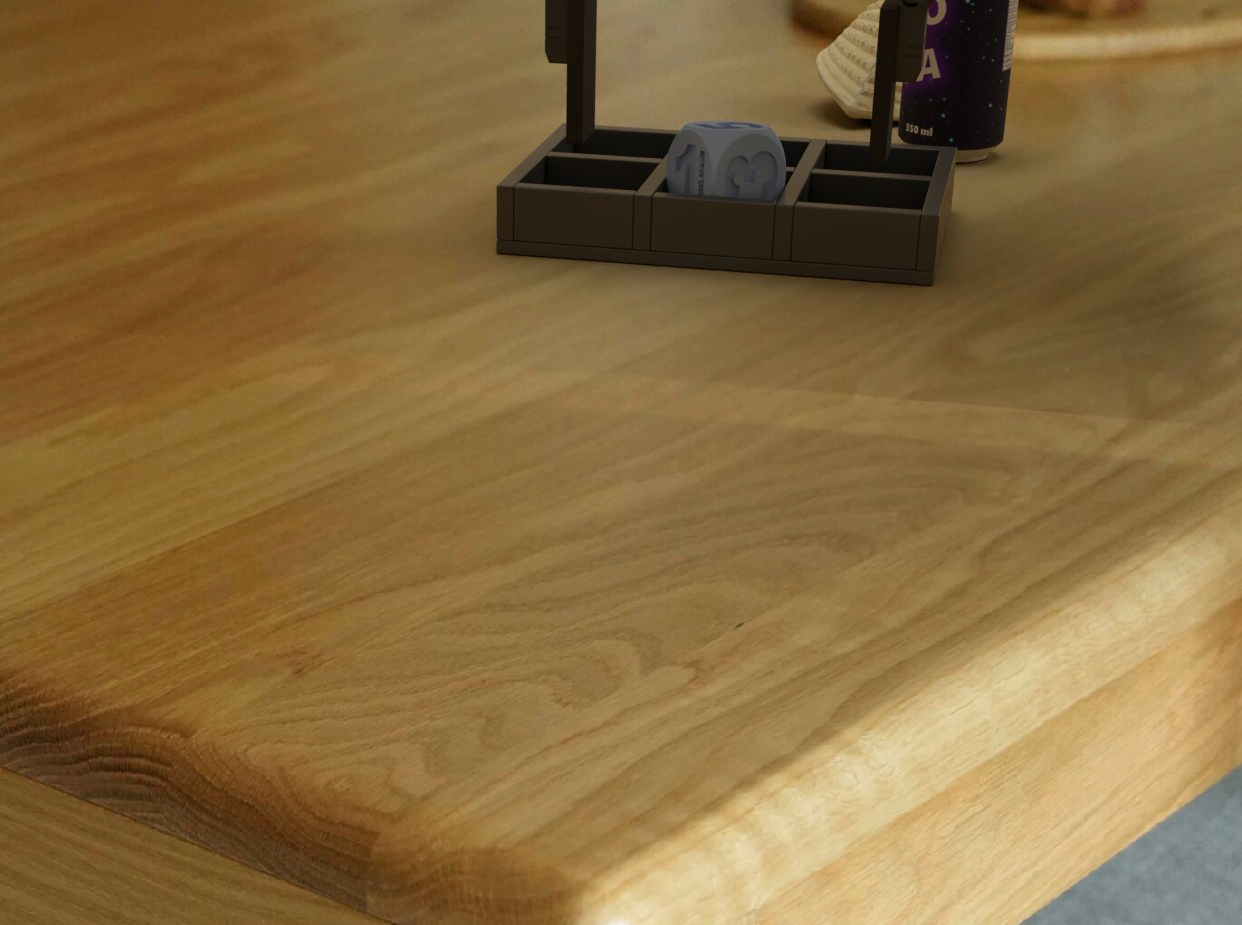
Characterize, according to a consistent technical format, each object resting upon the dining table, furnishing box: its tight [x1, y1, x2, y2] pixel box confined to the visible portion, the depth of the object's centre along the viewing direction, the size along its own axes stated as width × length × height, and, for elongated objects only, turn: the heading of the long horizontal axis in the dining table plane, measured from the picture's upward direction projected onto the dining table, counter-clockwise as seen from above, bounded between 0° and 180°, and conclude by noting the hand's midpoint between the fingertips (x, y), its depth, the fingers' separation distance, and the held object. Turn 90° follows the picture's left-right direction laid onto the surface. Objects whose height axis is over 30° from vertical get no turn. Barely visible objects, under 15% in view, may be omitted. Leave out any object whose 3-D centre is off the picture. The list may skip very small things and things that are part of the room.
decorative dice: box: [666, 120, 786, 202], centre depth 94 cm, size 4×4×4 cm
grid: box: [495, 122, 957, 286], centre depth 97 cm, size 20×13×3 cm
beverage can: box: [897, 0, 1019, 163], centre depth 110 cm, size 6×6×12 cm
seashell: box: [815, 0, 902, 122], centre depth 121 cm, size 8×8×8 cm
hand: (727, 147), depth 93 cm, fingers open, 13 cm apart
